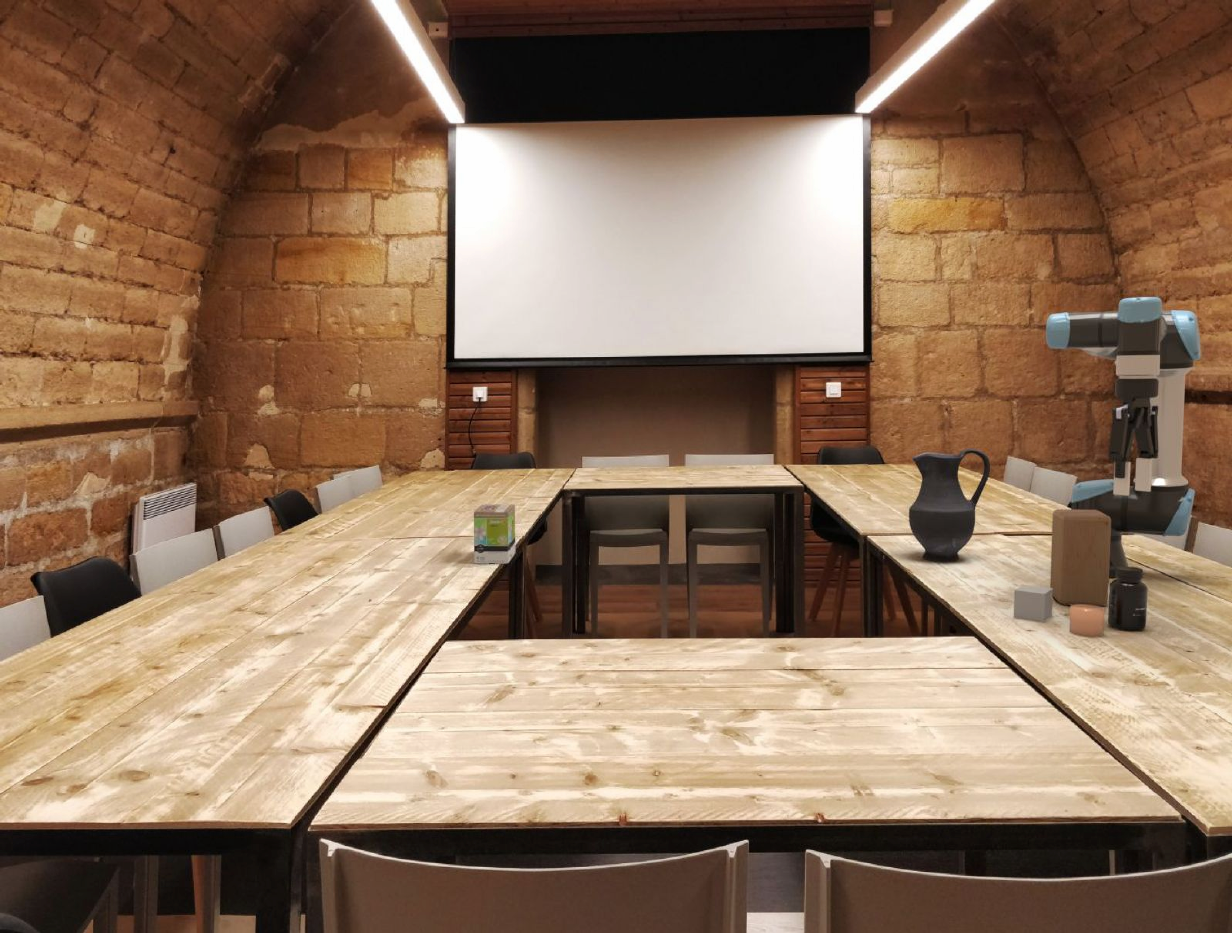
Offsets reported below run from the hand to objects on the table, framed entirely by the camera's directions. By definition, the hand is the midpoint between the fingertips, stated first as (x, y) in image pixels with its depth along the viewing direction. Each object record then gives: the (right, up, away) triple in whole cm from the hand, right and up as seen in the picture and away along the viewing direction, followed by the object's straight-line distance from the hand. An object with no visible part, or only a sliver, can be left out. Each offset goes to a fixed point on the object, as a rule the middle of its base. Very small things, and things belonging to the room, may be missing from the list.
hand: (1132, 492), depth 191 cm
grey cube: (-15, -27, +12) cm, 32 cm away
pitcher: (-12, -20, +72) cm, 75 cm away
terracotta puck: (-9, -28, -1) cm, 29 cm away
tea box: (-136, -21, +81) cm, 160 cm away
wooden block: (+1, -25, +24) cm, 35 cm away
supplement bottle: (0, -27, +3) cm, 27 cm away
